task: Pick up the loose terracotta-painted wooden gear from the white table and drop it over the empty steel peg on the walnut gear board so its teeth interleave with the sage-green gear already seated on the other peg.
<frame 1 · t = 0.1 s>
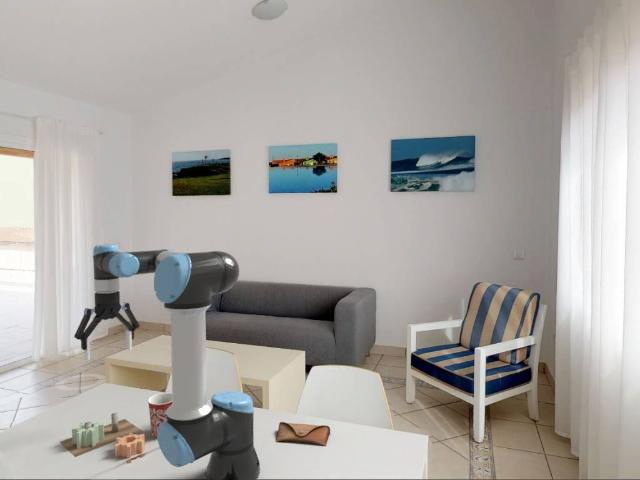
hand: (109, 354, 146), 28 cm above the table, fingers open, 13 cm apart
mug: (166, 435, 148), on the table
gear board: (102, 440, 144), on the table
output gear: (88, 441, 141), point 1 cm above the table, touching gear board
sunglasses case: (302, 439, 146), on the table
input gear: (130, 455, 135), on the table
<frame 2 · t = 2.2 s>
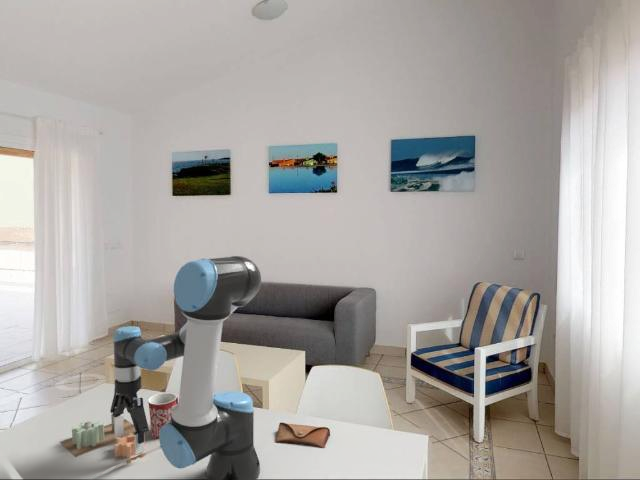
hand: (129, 444, 135), 3 cm above the table, fingers open, 13 cm apart
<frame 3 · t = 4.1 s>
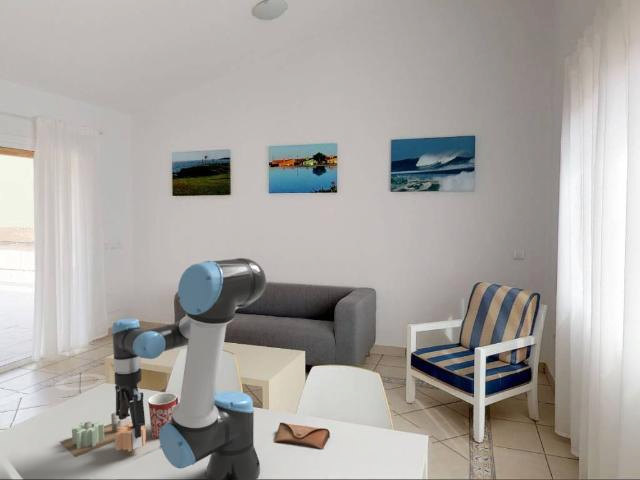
hand: (131, 443, 135), 4 cm above the table, fingers closed on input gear, 7 cm apart
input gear: (131, 444, 135), point 4 cm above the table, touching gripper
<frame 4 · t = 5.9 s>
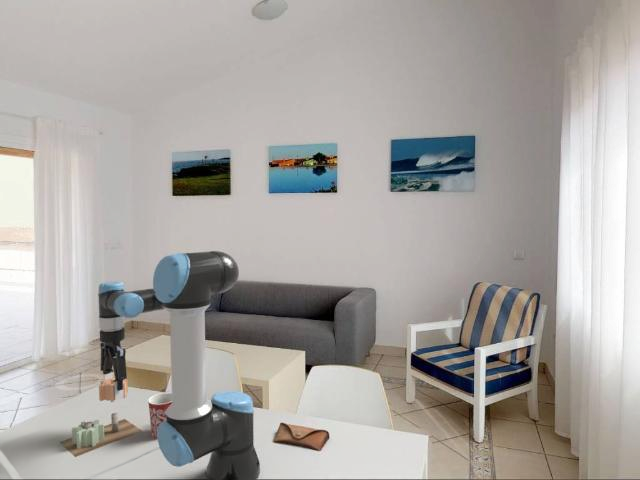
hand: (113, 395, 146), 14 cm above the table, fingers closed on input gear, 7 cm apart
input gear: (113, 396, 146), point 14 cm above the table, touching gripper
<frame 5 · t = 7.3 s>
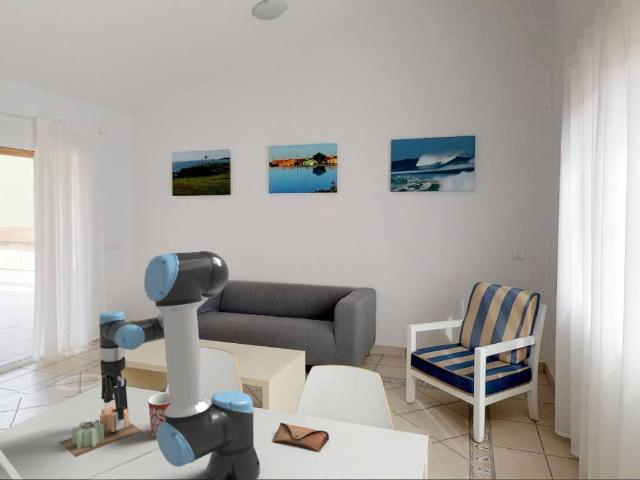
hand: (114, 424, 147), 4 cm above the table, fingers closed on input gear, 7 cm apart
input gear: (114, 425, 147), point 4 cm above the table, touching gripper
when the fingers open (2 cm above the table, at t = 8.0 s): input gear stays where it is, resting on gear board.
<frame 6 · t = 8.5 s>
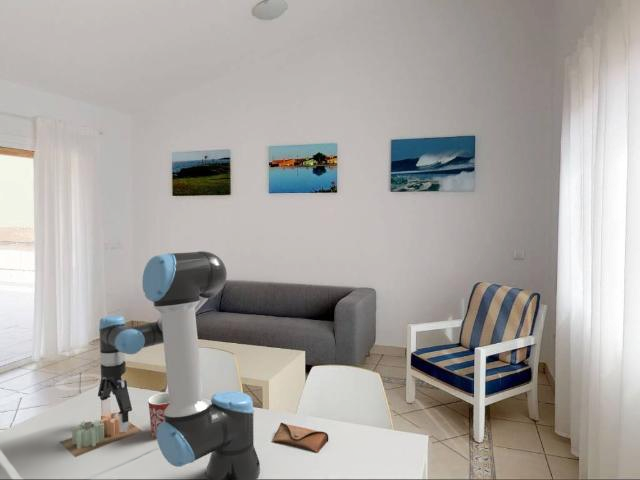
hand: (114, 424, 147), 4 cm above the table, fingers open, 13 cm apart
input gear: (114, 430, 148), point 1 cm above the table, touching gear board
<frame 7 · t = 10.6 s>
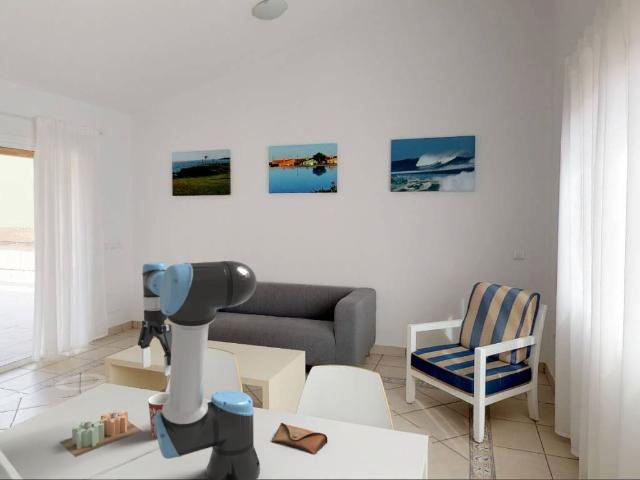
hand: (157, 370, 148), 22 cm above the table, fingers open, 13 cm apart
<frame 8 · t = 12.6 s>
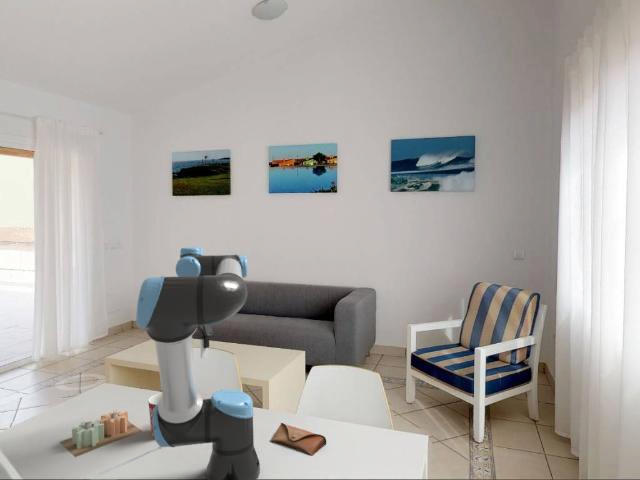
hand: (193, 352, 151), 27 cm above the table, fingers open, 13 cm apart
at the end: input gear 0.8 cm from the target spot on the gear board, point 1.5 cm above the gear board's base; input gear tilted 0°; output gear moved 0.0 cm from its start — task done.
